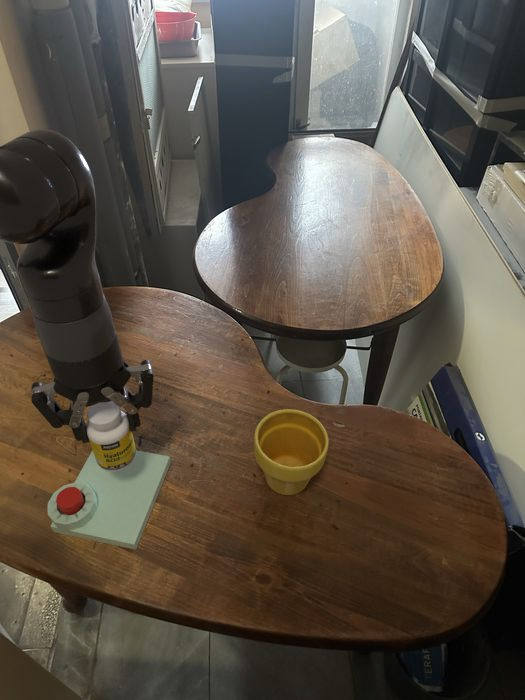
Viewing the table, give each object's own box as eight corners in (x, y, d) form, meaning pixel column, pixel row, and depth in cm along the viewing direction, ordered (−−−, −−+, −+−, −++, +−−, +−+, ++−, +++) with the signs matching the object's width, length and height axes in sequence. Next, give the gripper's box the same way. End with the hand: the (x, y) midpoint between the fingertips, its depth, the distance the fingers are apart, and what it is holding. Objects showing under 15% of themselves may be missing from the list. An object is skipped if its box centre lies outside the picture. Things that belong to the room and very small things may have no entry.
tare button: (55, 512, 65) (51, 505, 63) (66, 491, 67) (63, 484, 66) (77, 516, 64) (73, 510, 63) (88, 495, 67) (85, 489, 65)
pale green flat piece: (46, 531, 66) (38, 518, 64) (92, 447, 76) (87, 434, 74) (136, 550, 64) (131, 538, 62) (171, 462, 74) (168, 449, 72)
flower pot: (318, 447, 77) (325, 408, 70) (324, 507, 69) (332, 470, 63) (253, 447, 77) (254, 407, 70) (252, 506, 69) (253, 469, 62)
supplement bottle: (108, 480, 64) (91, 435, 57) (90, 453, 67) (72, 408, 60) (144, 459, 66) (133, 413, 59) (125, 433, 69) (112, 388, 62)
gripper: (4, 374, 47) (52, 470, 58) (152, 344, 50) (170, 441, 62) (7, 326, 52) (51, 423, 63) (142, 302, 55) (160, 398, 67)
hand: (109, 431), depth 63 cm, fingers closed on supplement bottle, 5 cm apart
